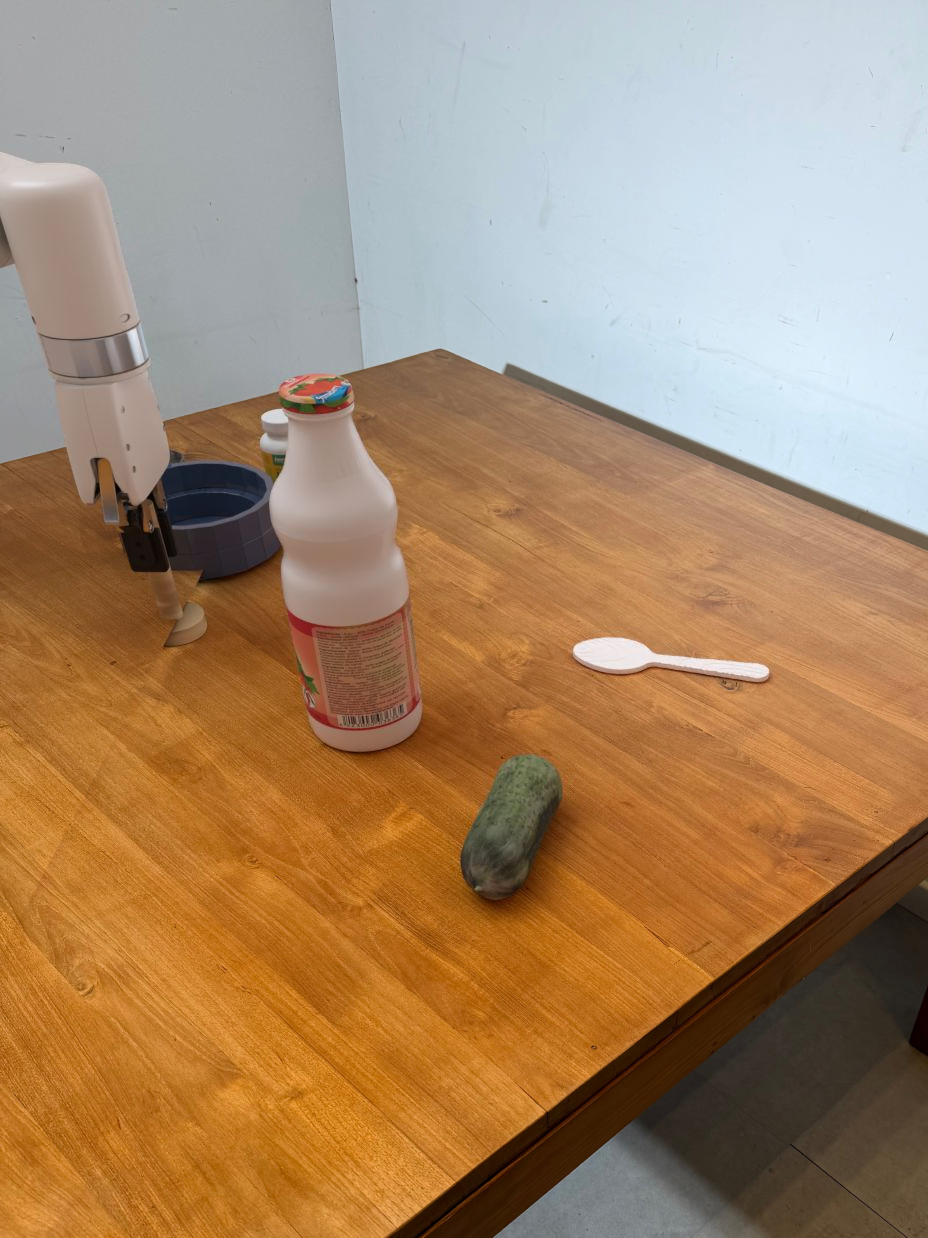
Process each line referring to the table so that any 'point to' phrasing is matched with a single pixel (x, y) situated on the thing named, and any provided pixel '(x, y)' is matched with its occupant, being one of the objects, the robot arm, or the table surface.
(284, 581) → the fruit juice
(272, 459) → the supplement bottle
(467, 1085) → the table surface
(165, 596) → the wooden masher
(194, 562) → the bowl
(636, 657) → the spoon
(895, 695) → the table surface
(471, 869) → the vegetable
